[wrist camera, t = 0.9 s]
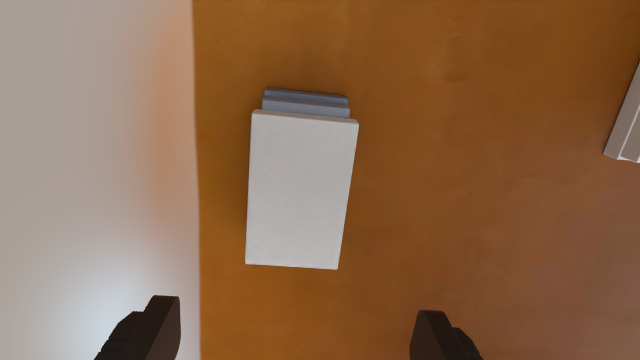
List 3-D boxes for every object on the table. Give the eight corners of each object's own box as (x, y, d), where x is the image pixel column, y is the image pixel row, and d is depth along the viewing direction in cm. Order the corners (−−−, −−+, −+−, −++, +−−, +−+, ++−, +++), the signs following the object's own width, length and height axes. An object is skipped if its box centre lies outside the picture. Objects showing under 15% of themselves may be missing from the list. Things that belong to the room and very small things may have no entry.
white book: (254, 108, 21) (251, 113, 20) (355, 119, 22) (359, 123, 21) (247, 251, 25) (244, 264, 23) (335, 257, 25) (337, 270, 24)
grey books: (266, 86, 24) (261, 92, 21) (346, 95, 25) (352, 102, 22) (257, 241, 28) (252, 264, 25) (325, 246, 29) (328, 269, 26)
